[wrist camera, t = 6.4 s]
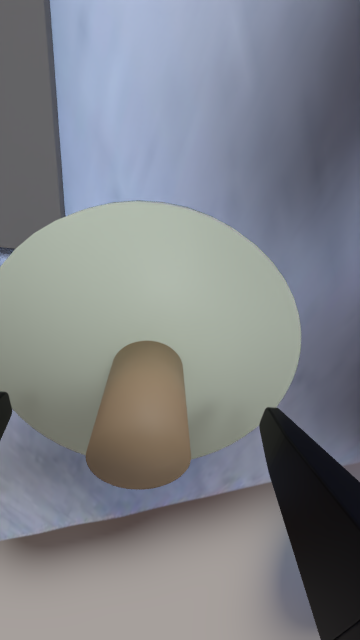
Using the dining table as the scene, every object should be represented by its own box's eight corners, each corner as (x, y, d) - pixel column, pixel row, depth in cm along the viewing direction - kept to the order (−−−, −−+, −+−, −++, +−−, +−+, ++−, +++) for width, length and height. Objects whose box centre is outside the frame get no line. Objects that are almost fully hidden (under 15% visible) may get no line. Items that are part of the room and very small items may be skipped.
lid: (338, 226, 10) (488, 264, 5) (249, 452, 16) (282, 559, 11) (-42, 174, 8) (-285, 164, 4) (21, 443, 14) (-43, 561, 10)
